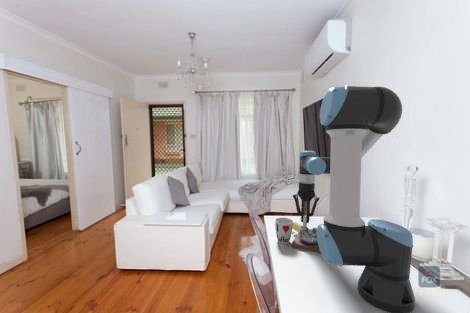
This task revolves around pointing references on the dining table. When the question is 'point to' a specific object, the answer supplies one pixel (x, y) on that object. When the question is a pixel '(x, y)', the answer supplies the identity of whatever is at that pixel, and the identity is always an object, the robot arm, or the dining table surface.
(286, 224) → the cup
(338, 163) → the robot arm
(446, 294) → the dining table surface
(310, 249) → the base board
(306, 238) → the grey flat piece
